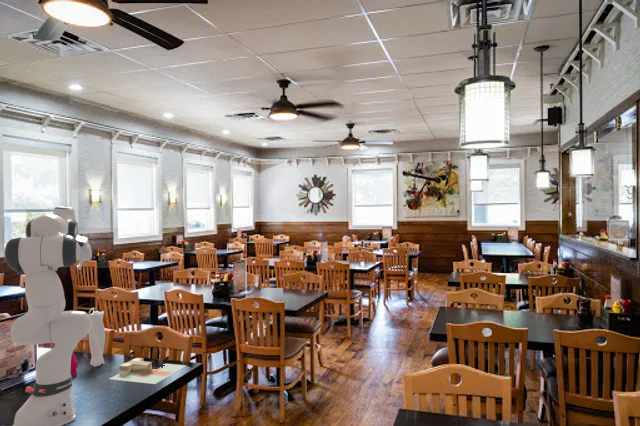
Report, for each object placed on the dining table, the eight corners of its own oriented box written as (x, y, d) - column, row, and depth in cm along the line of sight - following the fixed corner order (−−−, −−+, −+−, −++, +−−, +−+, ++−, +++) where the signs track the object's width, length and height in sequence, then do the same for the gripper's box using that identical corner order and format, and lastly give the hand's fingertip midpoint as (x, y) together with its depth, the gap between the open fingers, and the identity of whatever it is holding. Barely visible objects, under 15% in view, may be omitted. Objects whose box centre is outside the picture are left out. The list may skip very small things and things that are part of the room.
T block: (141, 376, 205) (141, 367, 205) (119, 374, 209) (119, 365, 209) (157, 367, 217) (157, 359, 217) (136, 365, 220) (136, 357, 220)
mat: (155, 384, 196) (155, 384, 196) (108, 379, 203) (108, 378, 203) (186, 366, 219) (186, 365, 219) (143, 362, 226) (143, 361, 226)
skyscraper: (86, 364, 224) (85, 308, 224) (101, 360, 230) (100, 306, 230) (92, 367, 219) (91, 310, 219) (108, 363, 225) (107, 308, 224)
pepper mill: (59, 379, 205) (58, 335, 204) (61, 374, 211) (60, 332, 211) (77, 376, 208) (76, 333, 207) (79, 371, 214) (78, 330, 214)
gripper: (36, 244, 192) (39, 273, 196) (90, 243, 199) (91, 271, 203) (40, 239, 197) (42, 267, 201) (91, 238, 205) (93, 265, 209)
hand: (67, 269), depth 202 cm, fingers open, 8 cm apart
